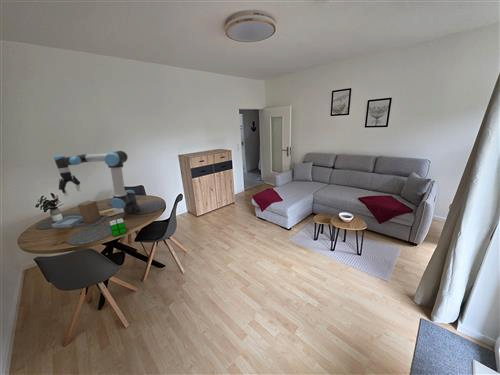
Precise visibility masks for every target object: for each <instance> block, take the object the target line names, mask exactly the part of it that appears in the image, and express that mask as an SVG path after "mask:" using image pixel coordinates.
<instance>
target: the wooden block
mask: <svg viewBox="0 0 500 375" xmlns="http://www.w3.org/2000/svg"><path fill="white" fill-rule="evenodd" d="M77 208H78V209H79V213H80V216H82V219H83V222H84V223H95V222H96V221H98V220H100V219H101V215H102V214H101V213H100V209H99V207H98V204H97V201H96V200H87V201H84V202H81V203H78V204H77Z"/></svg>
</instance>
